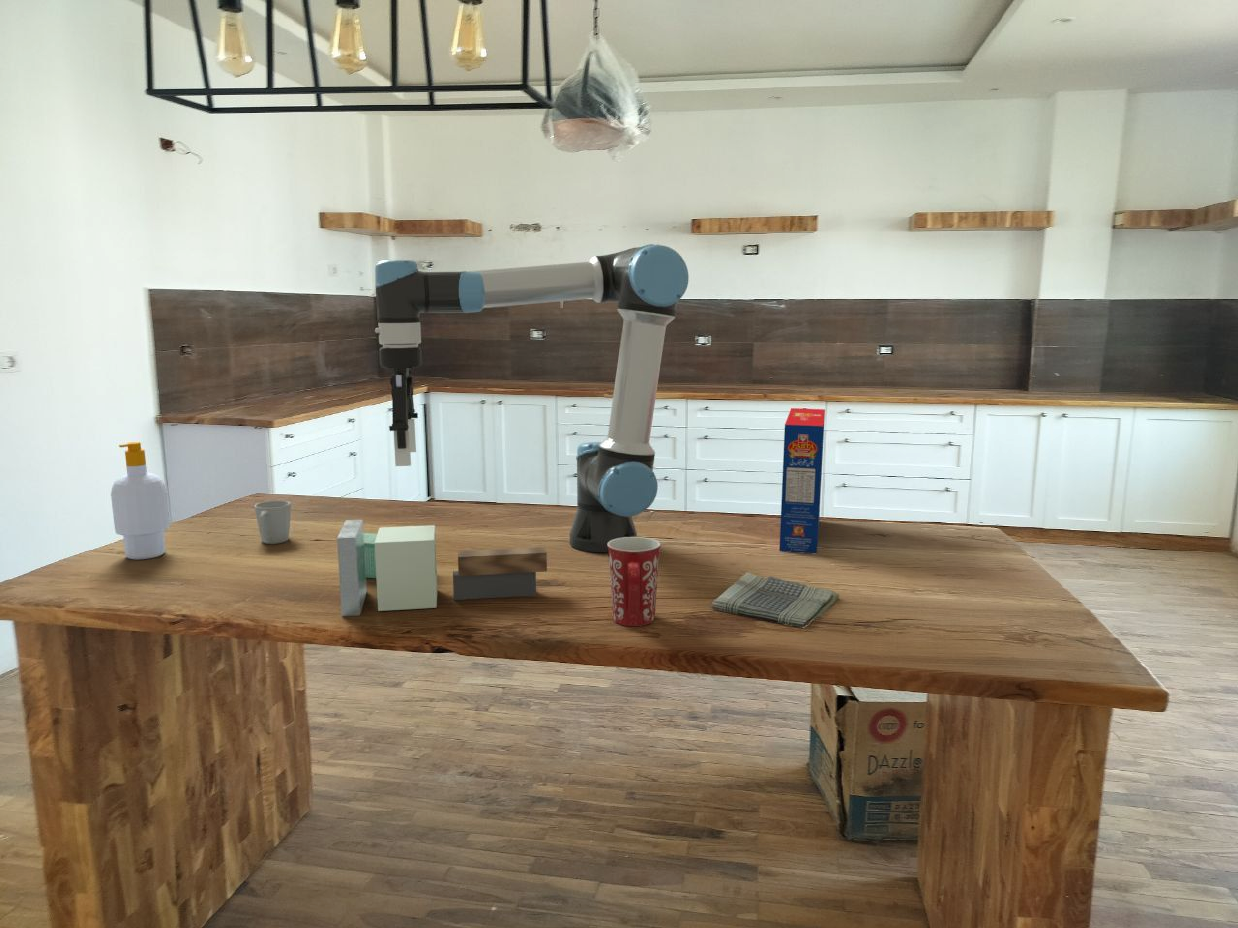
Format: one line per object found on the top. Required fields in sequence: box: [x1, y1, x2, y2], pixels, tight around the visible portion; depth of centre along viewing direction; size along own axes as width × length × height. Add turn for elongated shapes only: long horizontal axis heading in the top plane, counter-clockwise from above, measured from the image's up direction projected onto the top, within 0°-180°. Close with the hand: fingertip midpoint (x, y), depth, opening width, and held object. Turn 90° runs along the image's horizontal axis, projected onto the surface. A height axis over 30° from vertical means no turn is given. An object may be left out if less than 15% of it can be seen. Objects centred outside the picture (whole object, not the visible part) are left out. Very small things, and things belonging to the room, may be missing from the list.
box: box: [363, 532, 378, 579], centre depth 169 cm, size 7×14×8 cm, turn 79°
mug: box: [607, 536, 662, 627], centre depth 144 cm, size 13×9×14 cm
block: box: [375, 524, 439, 612], centre depth 154 cm, size 10×10×12 cm
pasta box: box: [779, 407, 826, 554], centre depth 196 cm, size 28×8×28 cm, turn 166°
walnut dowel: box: [457, 546, 548, 576], centre depth 157 cm, size 16×4×4 cm, turn 101°
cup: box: [254, 499, 292, 545], centre depth 190 cm, size 8×10×8 cm
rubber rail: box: [452, 570, 537, 601], centre depth 158 cm, size 15×2×5 cm, turn 101°
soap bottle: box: [110, 441, 171, 560], centre depth 179 cm, size 10×10×24 cm
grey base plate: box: [336, 519, 368, 617], centre depth 152 cm, size 3×12×14 cm, turn 11°
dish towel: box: [711, 572, 840, 628], centre depth 155 cm, size 19×18×3 cm
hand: (406, 458), depth 162 cm, fingers open, 13 cm apart
